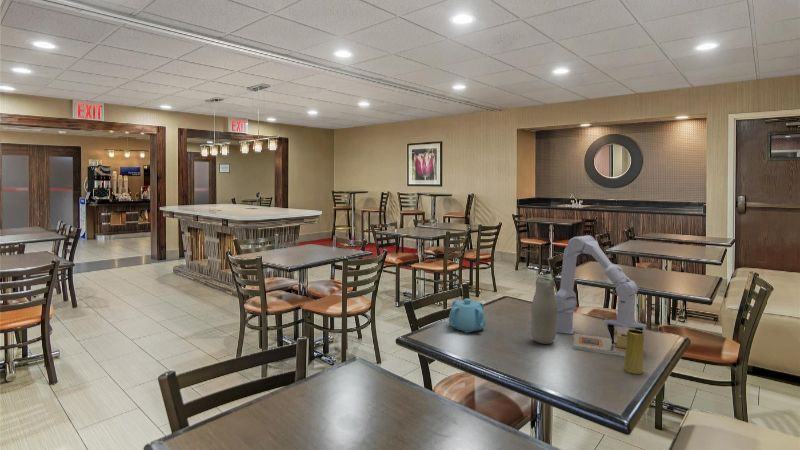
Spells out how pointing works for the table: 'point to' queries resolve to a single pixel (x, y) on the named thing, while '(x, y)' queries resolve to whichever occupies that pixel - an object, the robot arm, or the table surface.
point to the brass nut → (621, 340)
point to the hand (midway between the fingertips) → (623, 344)
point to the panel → (603, 347)
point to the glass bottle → (544, 311)
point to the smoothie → (622, 328)
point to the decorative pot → (467, 315)
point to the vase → (634, 352)
